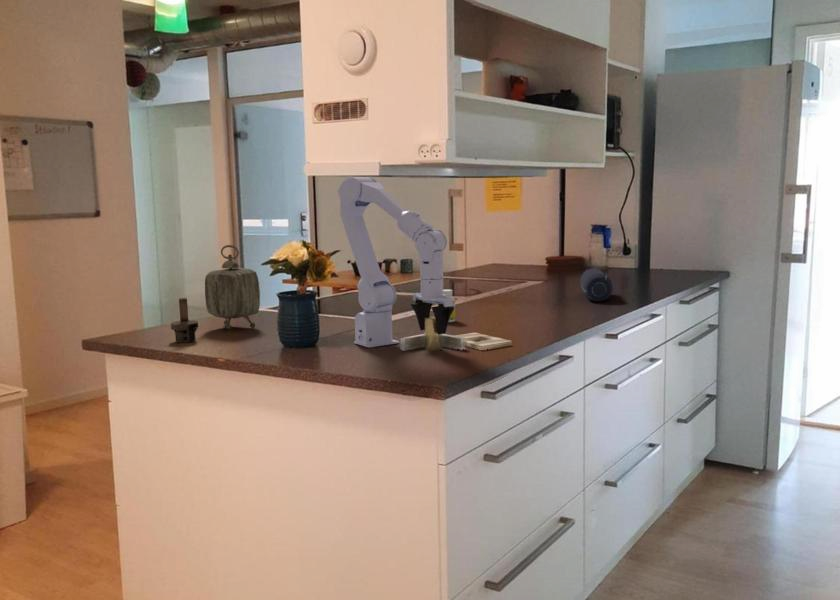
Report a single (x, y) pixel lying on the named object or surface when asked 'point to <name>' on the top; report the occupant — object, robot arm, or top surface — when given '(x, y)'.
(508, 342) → the beige plate with hole
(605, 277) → the portable speaker
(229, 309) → the tabletop clock
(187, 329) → the industrial component
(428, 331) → the brass axle
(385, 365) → the top surface
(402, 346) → the grey angled bracket
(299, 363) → the top surface
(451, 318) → the supplement bottle
